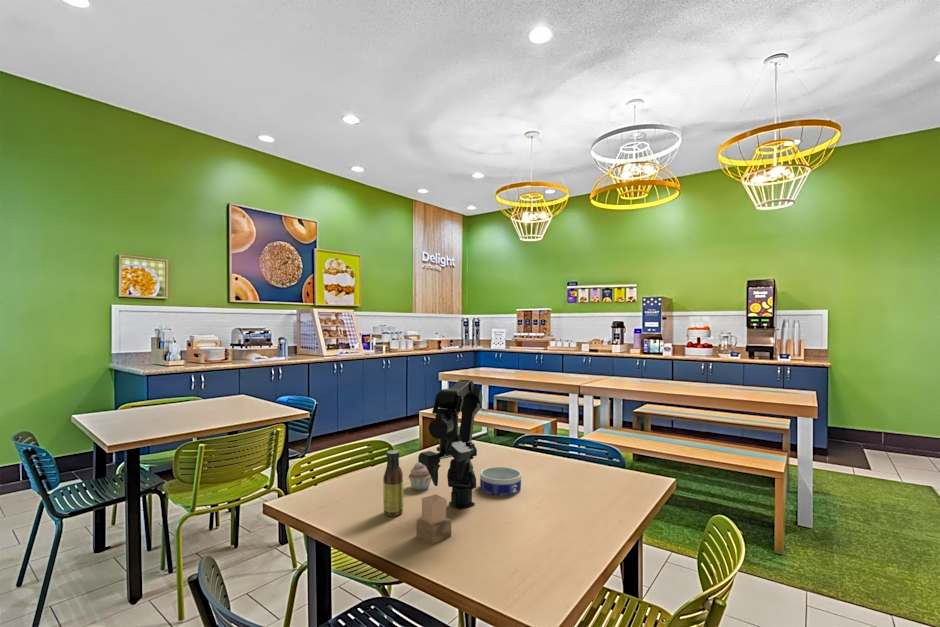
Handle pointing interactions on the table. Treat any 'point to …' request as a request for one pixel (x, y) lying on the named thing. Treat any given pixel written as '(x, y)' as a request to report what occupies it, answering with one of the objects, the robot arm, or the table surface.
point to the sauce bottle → (393, 485)
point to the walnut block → (433, 530)
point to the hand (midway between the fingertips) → (448, 482)
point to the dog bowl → (500, 481)
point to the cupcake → (419, 477)
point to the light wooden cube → (433, 509)
